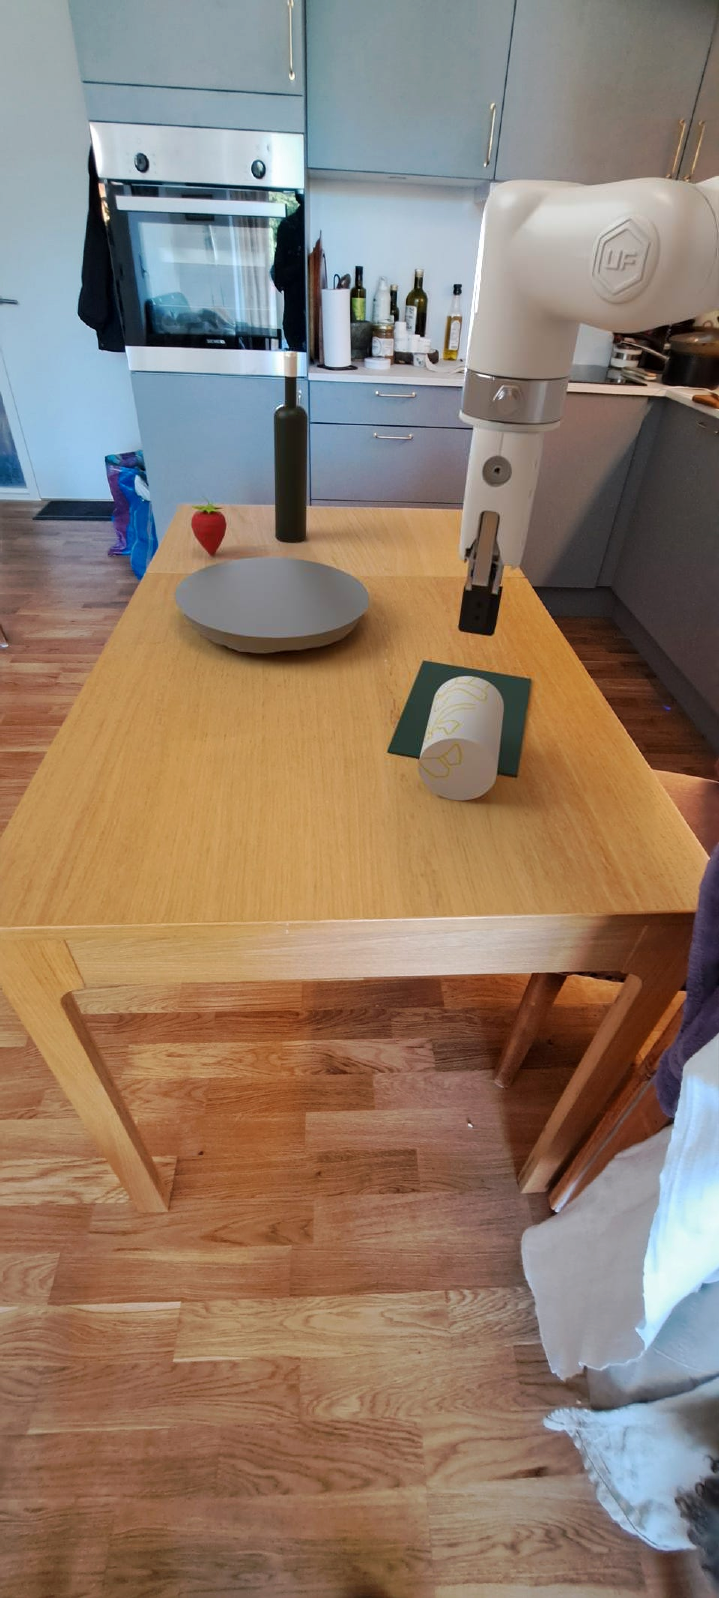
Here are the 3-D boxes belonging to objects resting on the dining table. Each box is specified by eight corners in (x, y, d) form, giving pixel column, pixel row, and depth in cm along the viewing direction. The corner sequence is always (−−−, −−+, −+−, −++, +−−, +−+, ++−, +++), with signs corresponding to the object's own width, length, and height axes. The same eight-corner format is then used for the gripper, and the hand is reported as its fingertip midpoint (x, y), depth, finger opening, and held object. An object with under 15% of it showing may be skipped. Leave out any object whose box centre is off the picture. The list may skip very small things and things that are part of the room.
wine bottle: (275, 531, 140) (273, 347, 121) (306, 532, 140) (308, 349, 121) (275, 541, 135) (272, 353, 116) (306, 543, 136) (308, 355, 117)
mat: (530, 680, 100) (531, 678, 100) (517, 777, 82) (517, 775, 82) (422, 662, 102) (423, 660, 102) (387, 752, 85) (387, 750, 85)
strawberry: (191, 562, 125) (185, 502, 119) (196, 546, 131) (191, 488, 125) (226, 563, 126) (222, 503, 120) (230, 547, 132) (226, 489, 125)
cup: (403, 755, 76) (420, 693, 85) (442, 809, 80) (454, 744, 89) (472, 726, 72) (482, 665, 81) (510, 785, 76) (516, 720, 85)
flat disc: (172, 588, 117) (169, 560, 114) (343, 580, 123) (344, 554, 120) (184, 675, 96) (181, 644, 93) (389, 660, 102) (392, 630, 99)
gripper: (559, 425, 48) (510, 675, 59) (567, 387, 59) (525, 603, 70) (445, 413, 49) (419, 661, 60) (475, 379, 60) (448, 592, 72)
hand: (476, 629), depth 65 cm, fingers closed
